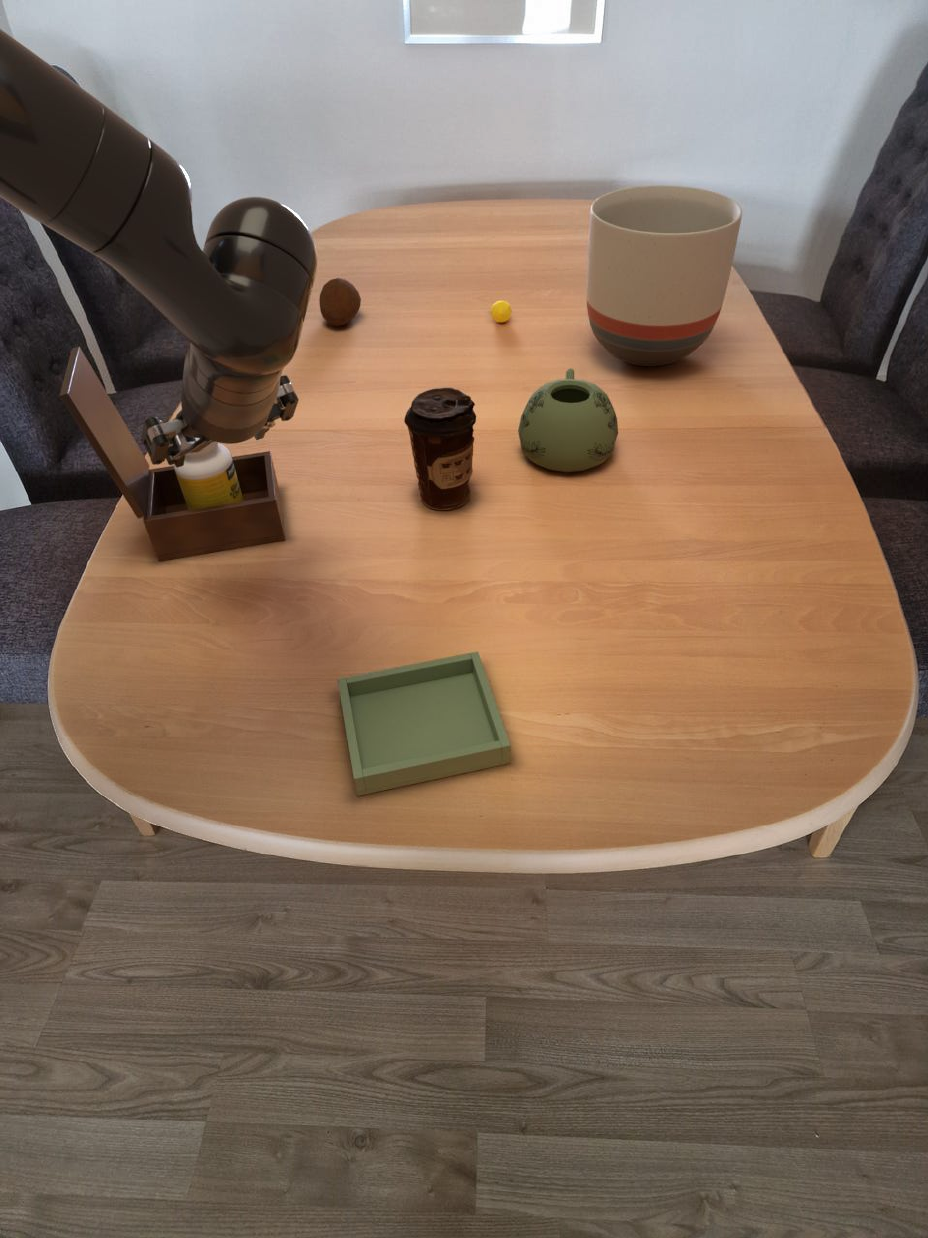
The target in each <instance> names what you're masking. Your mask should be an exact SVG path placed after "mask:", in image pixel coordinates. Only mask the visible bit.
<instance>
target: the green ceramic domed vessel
mask: <svg viewBox="0 0 928 1238" xmlns="http://www.w3.org/2000/svg"><path fill="white" fill-rule="evenodd" d="M519 420H520V421H519V425H518V428H517V432H518V437H519V442H520V443H519V444H520V448H521V451H522V454H523V455H524V456H525V457H526V458H527V459H528V460H530V461H531V462H532V463H534V464H536V465H538V466H539V467H542V468H544V469H547V470H549V471H554V472H561V473H575V472H584V471H586V470H589V469H592V468H594V467H597V466H599V465H602V464H603V463H604V462H606V461H607V460H608V459H609V458H610V457H611V456H612V454H613V451H614V448H615V445H616V442H617V438H618V437H619V427H618V426H619V425H618V418H617V414H616V411H615V408H614V406H613V404H612V402H611V400H610V397H609V395H608V393H606V392H605V391H604V390H603V389H602V388H600V387H599V386H597V384H595V383H592V382H590V381H587V380H583V379H575V369H573V368H572V367H570V368H567V369H566V371H565V379H564V378H563V379H556V380H552V381H549V382H546V383H545V384H543V385H541V386H540V387H539V388H538V389H536V390H535V391H533V392H532V394H531V396H530V397H529V399H528V401H527V403H526V405H525V407H524V409H523V411H522V414H521V416H520V419H519Z"/></svg>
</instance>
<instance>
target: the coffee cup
mask: <svg viewBox="0 0 928 1238" xmlns="http://www.w3.org/2000/svg"><path fill="white" fill-rule="evenodd" d="M410 405H411V406H410V407H409V408H408V410H407V411H406V412H405V415H404V419H403V421H404V424H405V425H406V427H407V430H408V435H409V440H410V447H411V453H412V458H413V465H414V469H415V475H416V478H417V480H418V481H417V486H418V490H419V496H420V499H421V502H422V503H423V504H424V505H425V506H426V507H428V508H429V509H432V510H439V511H448V510H453V509H456V508H459V507H461V506H463V505H465V504H466V503H467V502H468V501H469V499H470V497H471V492H472V491H471V488H470V485H469V482H470V479H471V477H472V475H473V471H474V470H473V457H474V442H475V437H474V432H475V429H474V425H475V424H476V422H477V415H476V412H475V411H474V407H475V406H476V404H475V402H474V401H473V400H472V398H471V396H470V395H467V394H466V393H464V392H462V391H461V390H460V389H457V388H453V387H437V388H432V389H428V390H424V391H423V392H421V393H418V394H417V395H416V396H415V397H414V398H413V400H412V401H411V404H410Z"/></svg>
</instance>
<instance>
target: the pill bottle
mask: <svg viewBox="0 0 928 1238" xmlns="http://www.w3.org/2000/svg"><path fill="white" fill-rule="evenodd" d="M176 438H177V440H178V442H179V444H180V446H181V442H180V439H179V437H178V435H177V436H176ZM195 439H196V441H197V440H199V439H200V438H195ZM232 457H233V456H232V453H231V452H230V450H229V449H228V448H227V447H226V446H225V445H224V444H222V443H219V442H212V443H211V444H209V445H208V446H206V447H205V448H203V449H202V450H201V451H199V452H194V453H187V454H186V455H185V460H184V466H181V467H178V468H177V467H176V466H175V464H173V466H174V469H175V472H176V475H177V478H178V481H179V484H180V487H181V490H182V493H183V496H184V498H185V501H186V504H187V507H188V510H192V509H199V508H205V507H211V506H217V505H223V504H230V503H236V502H242V501H244V500H243V496H242V493H241V489H240V486H239V482H238V478H237V475H236V471H235V467H234V464H233V460H232Z"/></svg>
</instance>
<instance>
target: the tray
mask: <svg viewBox="0 0 928 1238" xmlns="http://www.w3.org/2000/svg"><path fill="white" fill-rule="evenodd" d="M336 681H337V687H338V692H339V697H340V704H341V709H342V716H343V722H344V728H345V729H344V730H345V735H346V741H347V745H348V753H349V758H350V765H351V770H352V777H353V783H354V787H355V790H356V795H357V797H360V796H365V795H370V794H374V793H379V792H383V791H388V790H392V789H397V788H402V787H406V786H411V785H415V784H421V783H423V782H424V783H426V782H430V781H434V780H439V779H443V778H447V777H452V776H453V777H454V776H458V775H461V774H467V773H472V772H475V771H480V770H485V769H489V768H494V767H499V766H503V765H507V764H511V751H512V749H511V748H512V747H511V746H512V745H511V741H510V740H509V737H508V733H507V730H506V728H505V725H504V722H503V719H502V717H501V714H500V710H499V707H498V705H497V702H496V699H495V696H494V693H493V690H492V688H491V684H490V681H489V679H488V676H487V672H486V670H485V667H484V664H483V661H482V658H481V656H480V652H479V651H473V652H468V653H463V654H458V655H453V656H448V657H447V656H446V657H441V658H436V659H432V660H428V661H421V662H417V663H416V662H415V663H412V664H406V665H401V666H397V667H391V668H385V669H380V670H376V671H370V672H365V673H360V674H356V675H350V676H344V677H338V678H337V680H336Z"/></svg>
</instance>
